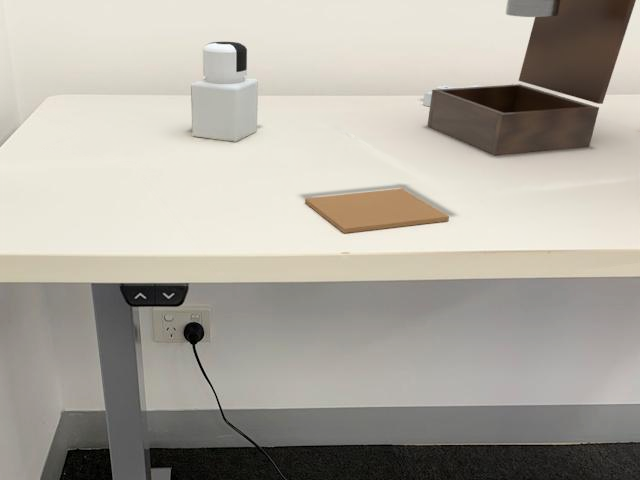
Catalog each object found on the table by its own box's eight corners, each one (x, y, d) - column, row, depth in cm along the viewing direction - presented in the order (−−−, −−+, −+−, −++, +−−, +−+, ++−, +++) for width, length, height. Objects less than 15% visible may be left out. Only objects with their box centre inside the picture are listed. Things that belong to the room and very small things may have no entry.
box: (493, 162, 97) (502, 114, 94) (426, 132, 110) (432, 89, 107) (587, 153, 101) (599, 107, 98) (511, 125, 114) (519, 84, 111)
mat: (401, 192, 86) (402, 188, 86) (448, 221, 78) (449, 216, 78) (304, 202, 83) (305, 198, 82) (343, 233, 75) (344, 228, 75)
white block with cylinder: (214, 126, 112) (213, 38, 106) (257, 131, 110) (259, 41, 103) (191, 136, 107) (189, 44, 101) (236, 142, 104) (236, 48, 98)
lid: (642, -35, 89) (671, -32, 91) (550, -42, 103) (577, -39, 104) (597, 103, 97) (625, 104, 99) (518, 80, 111) (543, 82, 112)
